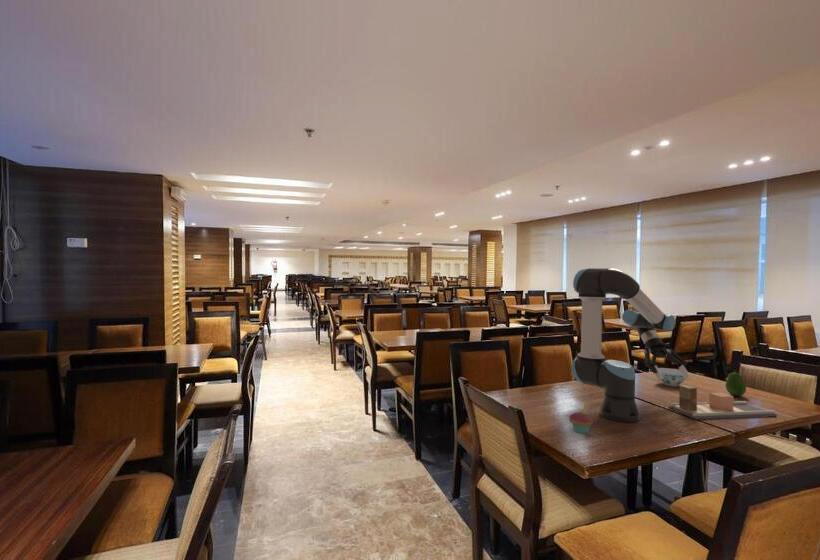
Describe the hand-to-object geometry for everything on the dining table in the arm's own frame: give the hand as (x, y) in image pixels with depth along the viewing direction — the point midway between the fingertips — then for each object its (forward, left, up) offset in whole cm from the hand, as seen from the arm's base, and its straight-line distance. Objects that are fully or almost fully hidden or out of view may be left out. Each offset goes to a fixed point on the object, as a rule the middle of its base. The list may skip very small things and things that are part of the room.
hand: (674, 378), depth 182 cm
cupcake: (-39, -50, -13) cm, 65 cm away
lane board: (+18, 0, -13) cm, 22 cm away
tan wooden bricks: (+13, -2, -12) cm, 18 cm away
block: (+18, 0, -11) cm, 21 cm away
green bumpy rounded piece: (+32, +33, -13) cm, 48 cm away
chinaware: (+6, +44, -13) cm, 46 cm away
